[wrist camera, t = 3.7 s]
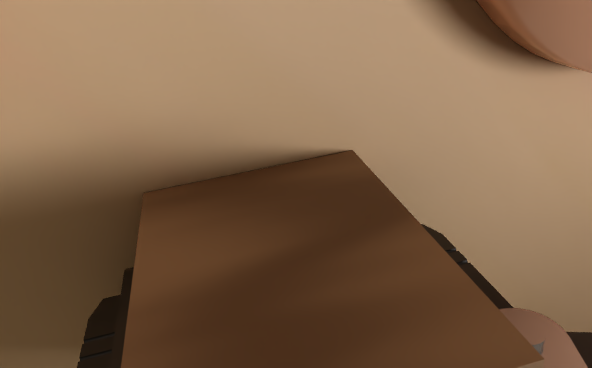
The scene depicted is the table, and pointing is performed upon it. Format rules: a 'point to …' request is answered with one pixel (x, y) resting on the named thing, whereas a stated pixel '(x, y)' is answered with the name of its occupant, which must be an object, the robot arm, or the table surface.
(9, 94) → the table surface
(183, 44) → the table surface
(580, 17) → the dish
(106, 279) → the table surface
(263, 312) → the walnut block
